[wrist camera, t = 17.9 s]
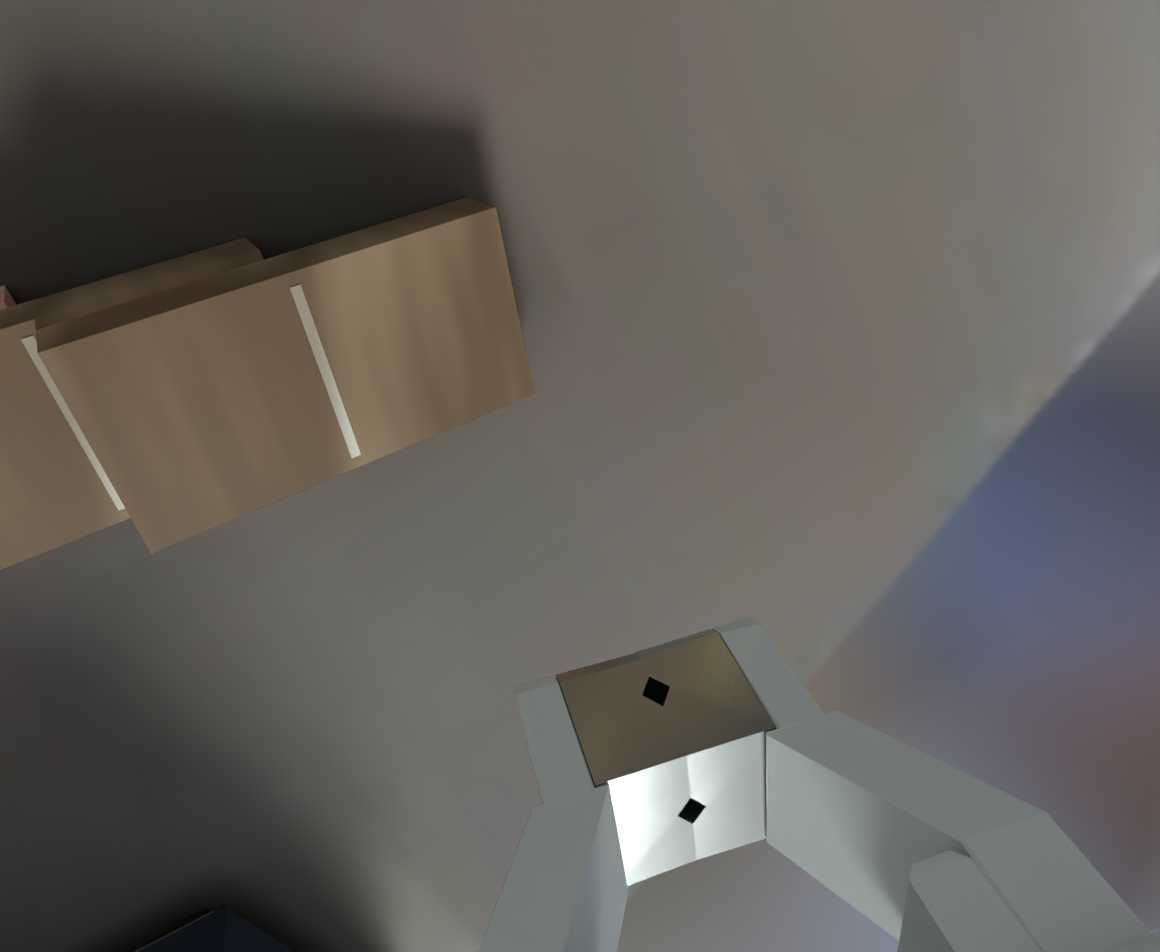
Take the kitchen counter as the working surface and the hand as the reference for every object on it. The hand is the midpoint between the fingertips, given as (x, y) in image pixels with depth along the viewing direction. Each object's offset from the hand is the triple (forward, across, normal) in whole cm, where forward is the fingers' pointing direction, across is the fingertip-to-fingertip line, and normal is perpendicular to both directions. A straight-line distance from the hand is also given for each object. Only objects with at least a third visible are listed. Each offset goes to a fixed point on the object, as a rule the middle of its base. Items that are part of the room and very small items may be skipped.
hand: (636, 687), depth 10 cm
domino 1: (+14, -1, 0) cm, 14 cm away
